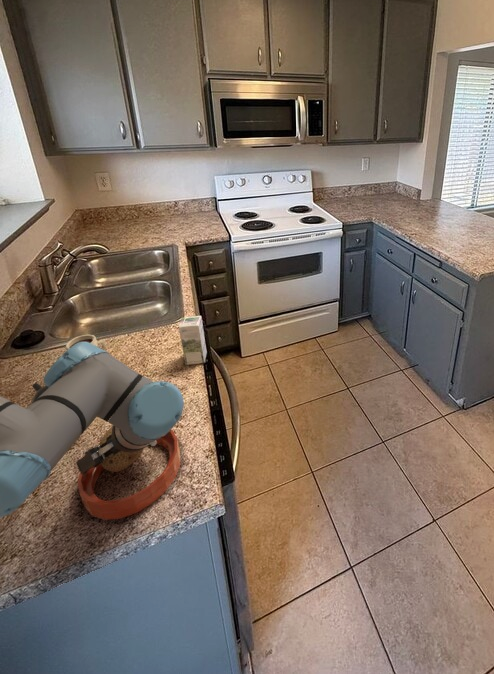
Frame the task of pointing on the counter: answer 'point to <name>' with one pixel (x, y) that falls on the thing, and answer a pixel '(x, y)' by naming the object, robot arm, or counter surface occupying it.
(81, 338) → the character mug
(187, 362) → the syrup box
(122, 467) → the natural sponge
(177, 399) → the robot arm
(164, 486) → the orange rubber ring
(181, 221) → the counter surface
